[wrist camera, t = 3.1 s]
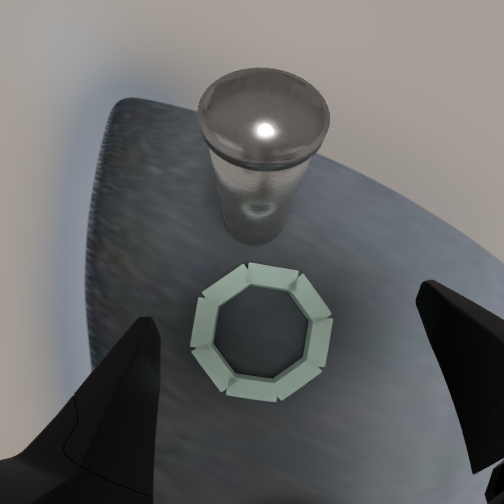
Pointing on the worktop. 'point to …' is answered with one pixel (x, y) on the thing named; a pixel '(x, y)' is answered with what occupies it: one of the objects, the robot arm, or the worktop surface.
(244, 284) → the collar ring
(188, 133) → the worktop surface
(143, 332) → the robot arm
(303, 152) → the glass jar
